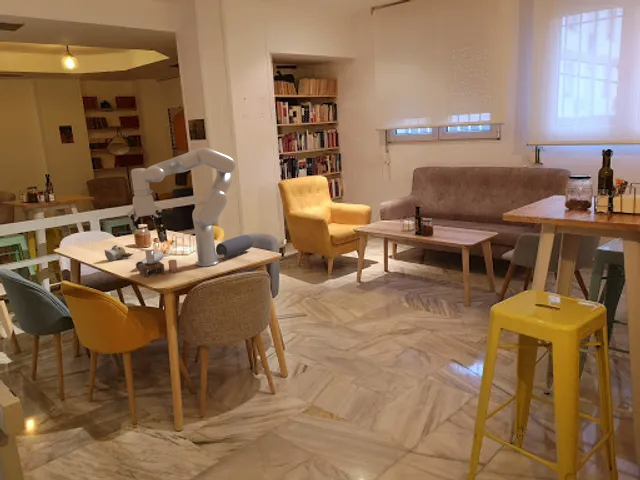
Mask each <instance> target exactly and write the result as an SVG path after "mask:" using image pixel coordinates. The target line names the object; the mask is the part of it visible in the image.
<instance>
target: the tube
mask: <svg viewBox="0 0 640 480" xmlns="http://www.w3.org/2000/svg"><path fill="white" fill-rule="evenodd" d="M154 258H155V261H157V260H158V261H160V260H162V259H163V258H164V253H163V251H162V250H160V251H155V252H154ZM142 263H147V260H146V257H145V258H143V259H141V260H140V261H139V260H138V261H137V262H136V263H135V269H137V271H139V264H142Z"/></svg>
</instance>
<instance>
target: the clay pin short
mask: <svg viewBox="0 0 640 480" xmlns="http://www.w3.org/2000/svg"><path fill="white" fill-rule="evenodd" d="M167 264H168V271H169V273H170V274H174V273H173V272H175V273H177V272H178V263H177V259H169V260H168V263H167Z"/></svg>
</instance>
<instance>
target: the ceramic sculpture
mask: <svg viewBox="0 0 640 480" xmlns="http://www.w3.org/2000/svg"><path fill="white" fill-rule="evenodd" d="M133 255H134V253H130V252H126V249H125V248H124V247H123V246H118V245H117V244H116V245H113V246H112V247H111V249H104V256H105V257H106V259H107V260H108V262H113V261H114V260H121V259H123V258H125V259H126V258H130V257H132V256H133Z"/></svg>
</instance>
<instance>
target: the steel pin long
mask: <svg viewBox="0 0 640 480" xmlns="http://www.w3.org/2000/svg"><path fill="white" fill-rule="evenodd" d="M144 252H145V258H146V260H147V266H151V265H155V258H154V253H155V251H154V249H148V250H145V251H144ZM147 271H148V276H149V275H156V274H157V270H156V269H152V270H147Z"/></svg>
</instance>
